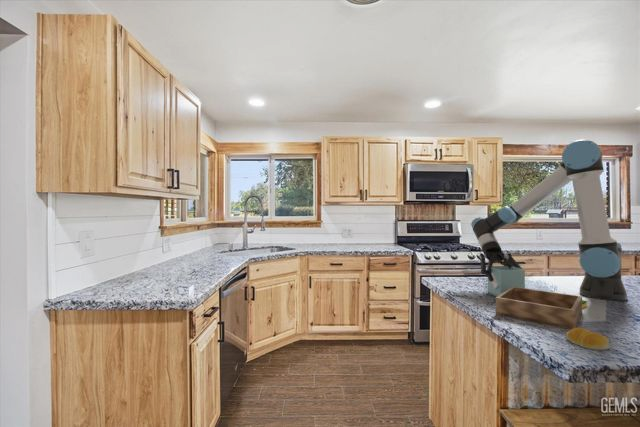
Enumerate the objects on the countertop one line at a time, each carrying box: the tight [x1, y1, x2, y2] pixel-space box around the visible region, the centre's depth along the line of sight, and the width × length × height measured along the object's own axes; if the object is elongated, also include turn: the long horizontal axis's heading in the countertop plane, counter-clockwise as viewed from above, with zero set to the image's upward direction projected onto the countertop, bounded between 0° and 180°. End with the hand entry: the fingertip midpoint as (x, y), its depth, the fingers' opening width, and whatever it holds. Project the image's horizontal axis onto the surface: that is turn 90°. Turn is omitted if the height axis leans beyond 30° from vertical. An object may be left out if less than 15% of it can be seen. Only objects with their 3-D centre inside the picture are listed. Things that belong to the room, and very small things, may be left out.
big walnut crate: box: [495, 287, 583, 330], centre depth 114 cm, size 22×22×6 cm
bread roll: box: [565, 327, 610, 351], centre depth 89 cm, size 8×9×4 cm
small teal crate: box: [487, 265, 526, 298], centre depth 138 cm, size 10×10×12 cm
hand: (509, 287), depth 135 cm, fingers closed on small teal crate, 10 cm apart
